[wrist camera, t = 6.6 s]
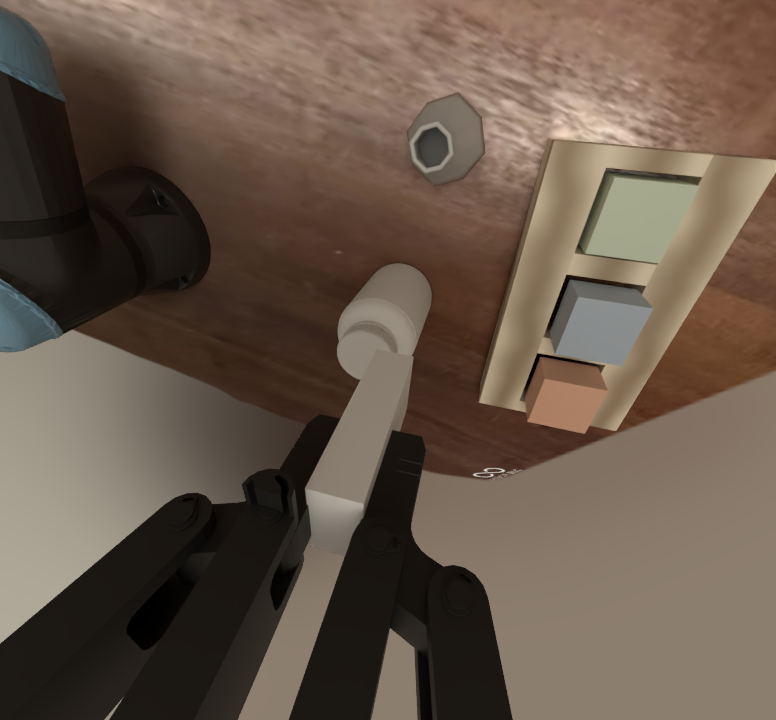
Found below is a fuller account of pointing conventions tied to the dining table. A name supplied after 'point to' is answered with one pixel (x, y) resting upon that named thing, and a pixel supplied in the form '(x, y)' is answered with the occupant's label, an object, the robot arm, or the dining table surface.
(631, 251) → the button sage
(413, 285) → the pill bottle
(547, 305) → the panel
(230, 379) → the dining table surface
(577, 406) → the button terracotta
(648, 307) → the button slate
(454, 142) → the flask
